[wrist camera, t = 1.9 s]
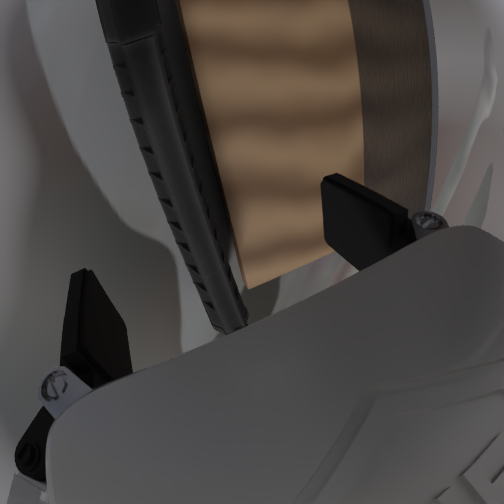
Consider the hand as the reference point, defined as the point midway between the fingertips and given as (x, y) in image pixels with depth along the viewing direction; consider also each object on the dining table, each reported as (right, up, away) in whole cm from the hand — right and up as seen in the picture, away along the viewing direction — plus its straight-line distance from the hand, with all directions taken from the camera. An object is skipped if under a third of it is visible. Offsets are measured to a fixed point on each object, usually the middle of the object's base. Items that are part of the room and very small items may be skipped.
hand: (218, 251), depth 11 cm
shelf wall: (+13, +15, +15) cm, 25 cm away
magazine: (-6, +8, +12) cm, 16 cm away
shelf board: (+5, +13, +15) cm, 21 cm away
